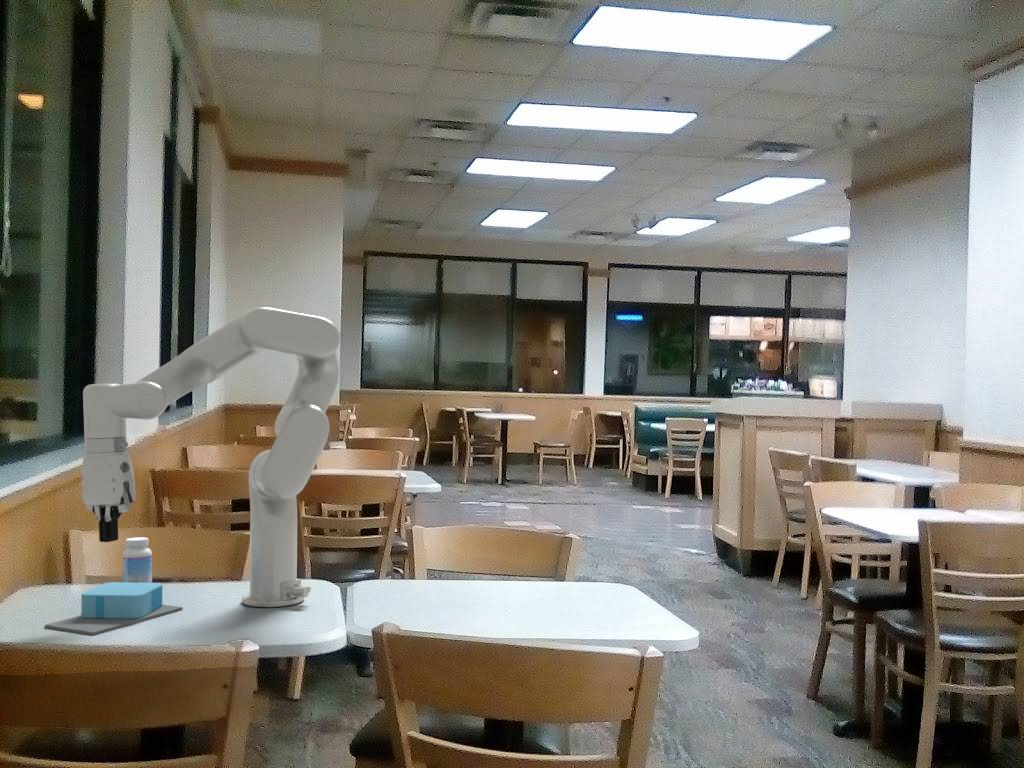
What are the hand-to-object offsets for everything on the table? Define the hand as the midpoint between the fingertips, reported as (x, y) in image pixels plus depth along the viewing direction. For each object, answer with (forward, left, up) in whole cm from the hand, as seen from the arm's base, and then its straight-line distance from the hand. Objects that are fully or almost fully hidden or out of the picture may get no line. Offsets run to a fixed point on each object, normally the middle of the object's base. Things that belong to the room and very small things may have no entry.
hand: (108, 540), depth 189 cm
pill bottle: (+14, -20, -15) cm, 29 cm away
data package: (+5, 0, -12) cm, 13 cm away
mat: (-3, +1, -15) cm, 15 cm away
